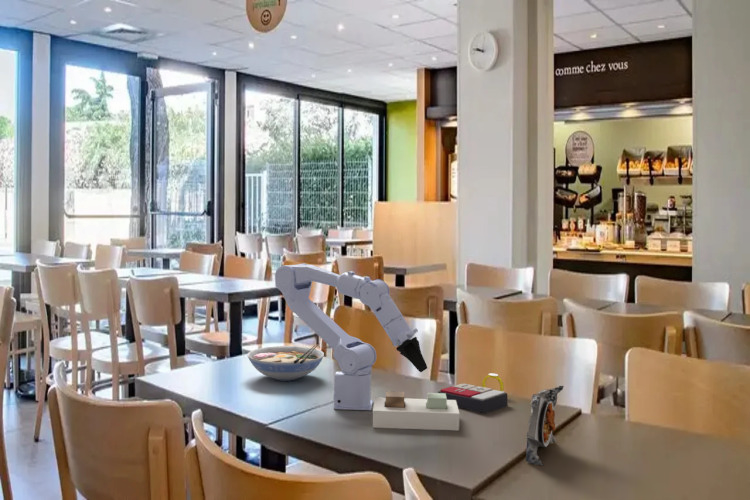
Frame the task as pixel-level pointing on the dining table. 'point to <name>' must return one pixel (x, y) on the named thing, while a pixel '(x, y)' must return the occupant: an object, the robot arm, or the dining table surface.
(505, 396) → the calculator
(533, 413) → the meal
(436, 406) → the sage key
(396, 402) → the walnut key
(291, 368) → the ramen bowl
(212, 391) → the dining table surface
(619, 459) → the dining table surface
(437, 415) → the key panel
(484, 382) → the watch
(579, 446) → the dining table surface
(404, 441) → the dining table surface
